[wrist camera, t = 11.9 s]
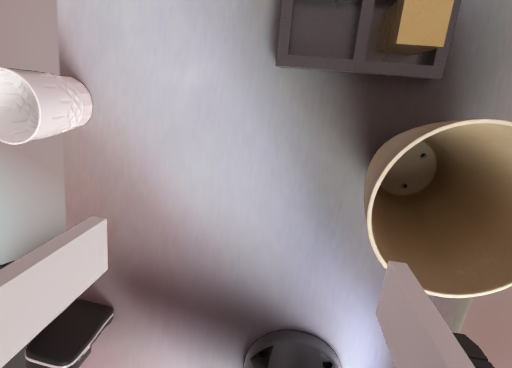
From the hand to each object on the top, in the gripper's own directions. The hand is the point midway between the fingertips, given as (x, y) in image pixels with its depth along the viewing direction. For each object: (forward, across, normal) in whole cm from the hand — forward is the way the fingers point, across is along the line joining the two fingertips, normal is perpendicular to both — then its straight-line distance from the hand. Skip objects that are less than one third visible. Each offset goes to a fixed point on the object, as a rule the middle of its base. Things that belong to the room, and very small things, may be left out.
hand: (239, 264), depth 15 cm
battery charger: (+29, +26, +29) cm, 49 cm away
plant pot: (+28, -16, -1) cm, 32 cm away
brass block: (+27, -12, -15) cm, 33 cm away
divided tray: (+28, -8, -15) cm, 32 cm away
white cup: (+28, +28, -4) cm, 40 cm away
